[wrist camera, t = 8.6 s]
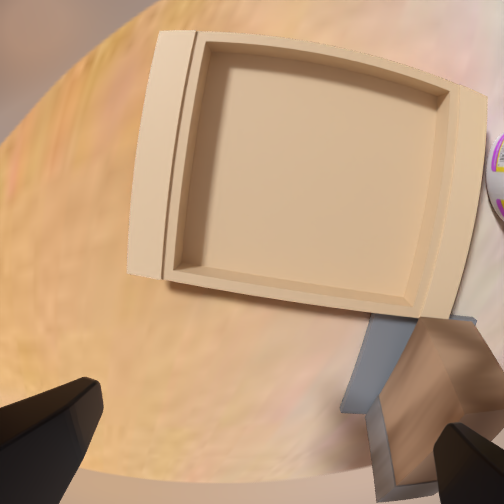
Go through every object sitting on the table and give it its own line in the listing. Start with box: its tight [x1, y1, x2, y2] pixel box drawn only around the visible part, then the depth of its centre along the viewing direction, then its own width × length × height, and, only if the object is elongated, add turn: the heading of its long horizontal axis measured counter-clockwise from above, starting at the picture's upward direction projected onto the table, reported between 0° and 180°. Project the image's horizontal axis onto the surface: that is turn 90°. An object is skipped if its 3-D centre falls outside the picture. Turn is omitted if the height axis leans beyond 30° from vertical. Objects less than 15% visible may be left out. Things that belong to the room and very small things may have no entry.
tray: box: [127, 30, 487, 319], centre depth 16 cm, size 18×13×2 cm
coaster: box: [340, 313, 477, 414], centre depth 19 cm, size 8×8×1 cm
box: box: [365, 316, 504, 503], centre depth 14 cm, size 4×9×7 cm, turn 172°
